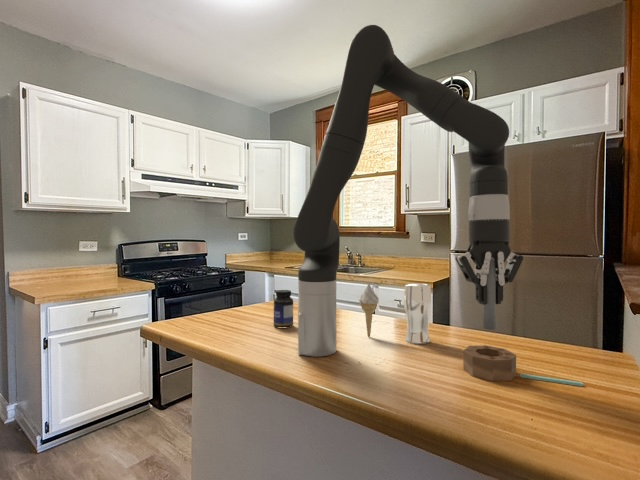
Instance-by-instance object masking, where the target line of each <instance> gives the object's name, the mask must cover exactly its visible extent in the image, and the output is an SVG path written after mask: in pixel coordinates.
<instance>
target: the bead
mask: <svg viewBox="0 0 640 480" xmlns="http://www.w3.org/2000/svg"><path fill="white" fill-rule="evenodd" d="M462 351H463V353H462V354H463V355H462V356H463V357H462V358H463V367H462V368H463V370H464V371H465V372H467V373H468V374H469V376H472V377H474V378H478V379H482V380H486V381H491V382H510V381H511V382H512V381H513V379H515V377H516V376H517V354H516V353H513V352H512V351H510V350H507V349H505V348H502V347H497V346H491V345H486V344H485V345H469V346H468V345H467V347H465V348H464V349H463V350H462Z"/></svg>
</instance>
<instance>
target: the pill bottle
mask: <svg viewBox="0 0 640 480" xmlns="http://www.w3.org/2000/svg"><path fill="white" fill-rule="evenodd" d="M291 295H292V291H291V290H290V289H277V290H276V291H275V296H276V298H275V299H273V327H274V326H275V327H274V328H276V327H289V328H291V327H290V326H292V325H293V326H294V299H293V298H292V297H291ZM293 326H292V327H293Z"/></svg>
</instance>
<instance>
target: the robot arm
mask: <svg viewBox="0 0 640 480" xmlns="http://www.w3.org/2000/svg"><path fill="white" fill-rule="evenodd" d="M347 51H348V52H347V55H346V60H345V67H344V71H343V75H342V80H341V84H340V88H339V92H338V95H337V99H336V101H335V103H334V107H333V110H332V114H331V116H330V120H329V124H328V125H327V128H326V132H325V136H324V138H323V141H322V144H321V148H320V152H319V156H318V159H317V162H316V165H315V169H314V172H313V176H312V179H311V182H310V186H309V189H308V191H307V194H306V197H305V199H304V201H303V203H302V205H301V209H300V211H299V212H298V215H297V218H296V220H295V223H294V226H293V229H292V231H293V234H292V235H293V241H294V242H295V245H296V246H297V247H298V248H299V249H300V250H301V251H303V252H304V258H303V262H302V264H301V265H300V266H299V269H298V272H297V274H298V277H297V278H298V283H297V284H298V286H297V287H298V288H297V289H298V292H297V293H298V295H297V296H298V301H297V302H298V303H297V304H298V307H297V308H298V311H297V314H298V315H297V319H298V320H297V322H298V323H297V324H298V325H297V326H298V328H297V332H298V333H297V334H298V335H297V336H298V337H297V339H298V345H297V346H298V347H297V348H298V356H306V357H315V358H316V357H319V358H320V357H327V356H328V357H329V356H331V355H334V354H336V352H337V346H338V345H337V342H338V341H337V274H338V269H339V263H340V243H341V242H340V238H341V237H340V229H339V226H338V225H339V224H338V223H337V222H336V220H335V219H334V218H333V214H334V211H335V208H336V204H337V202H338V200H339V199H338V198H339V196H340V194H341V193H342V191H343V189H344V188H345V186H346V185H347V184H348V182H349V180H350V179H351V177H352V176H353V174H354V172H355V170H356V169H357V166H358V164H359V162H360V159H361V155H362V153H363V149H364V146H365V144H366V143H365V141H366V138H367V133H368V127H369V126H368V125H369V113H370V103H371V97H372V93H373V89H374V86H376V87H378V88H380V89H383V90H385V91H387V92H389V93H391V94H393V95H395V96H396V97H398V98H399V99H401V100H403V101H404V102H405V103H407V104H408V105H410V106H411V107H412V108H414V109H415V110H416V111H418V112H419V113H421V114H422V115H424V116H425V117H426V118H428V119H429V120H430V121H432V122H433V123H434V124H435V125H436V126H438V127H440V128H441V129H443V130H444V131H446V132H448V133H456V135H457V136H459V137H461V138H463V139H464V140H466V141H467V142H468V157H469V158H468V159H469V160H468V161H469V170H470V174H469V203H468V215H467V218H468V241H469V245H468V247H467V251H466V252H465V253H463V254H460V255H456V256H455V258H454V259H455V261H456V262H457V265H458V267H459V269H460V271H461V274H462V275H463V277H464V278H465V280H466V282H468V283H472V284H474V286H475V300H476V301H477V303H478V304H480V305H482V306H483V305H485V304H487V286H485V285H486V281H487V275H488V274H489V266H490V260H491V257H493V258H494V265H495V269H496V305H501V304H502V302H503V300H504V285H505V284H508V283H513V282H514V279H515V277H516V276H517V273H518V271H519V269H520V268H521V265H522V263H523V260H524V256H523V255H522V254H516V253H514V252H512V250H511V247H510V245H509V243H510V240H511V232H510V230H511V227H510V226H511V225H510V224H511V223H510V222H511V219H510V217H511V213H510V209H511V207H510V202H509V195H508V194H509V179H508V177H509V176H508V171H507V169H506V168H505V150H506V149H505V147H506V143H507V142H508V139H509V137H510V128H509V125H508V123H507V122H506V120H505V119H504V118H502V117H501V116H500V115H498V114H497V113H495V112H494V111H492V110H490V109H487V108H485V107H483V106H481V105H479V104H476V103H473V102H470V101H468V99H466V97H464V96H462V95H461V94H459V93H458V92H457V91H455V90H453V89H452V88H451V87H448V86H447V85H445V84H444V83H442V82H439V81H437V80H435V79H434V78H433V79H432V78H430V77H426V76H424V75H421V74H419V73H417V72H415V71H413V70H412V69H410V67H408V66H407V65H405V64H404V63H403V62H402V61H401V60H400V58H399V57H398V56H397V55H396V54H395V51H394V48H393V46H392V42H391V39H390V37H389V35H388V34H387V32H386V31H385V30H384V28H382V27H381V26H380V25H378V24H369V25H365V26H364V27H362V28H361V29H360V30H359V31H358V32H357V33H356V34H355V35H354V36H353V38H352V39H351V42H350V44H349V47H348V50H347ZM471 260H472V262H473V263H474V269H473V267H472V265H471ZM506 261H507V263H506ZM505 263H506V265H505Z"/></svg>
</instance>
